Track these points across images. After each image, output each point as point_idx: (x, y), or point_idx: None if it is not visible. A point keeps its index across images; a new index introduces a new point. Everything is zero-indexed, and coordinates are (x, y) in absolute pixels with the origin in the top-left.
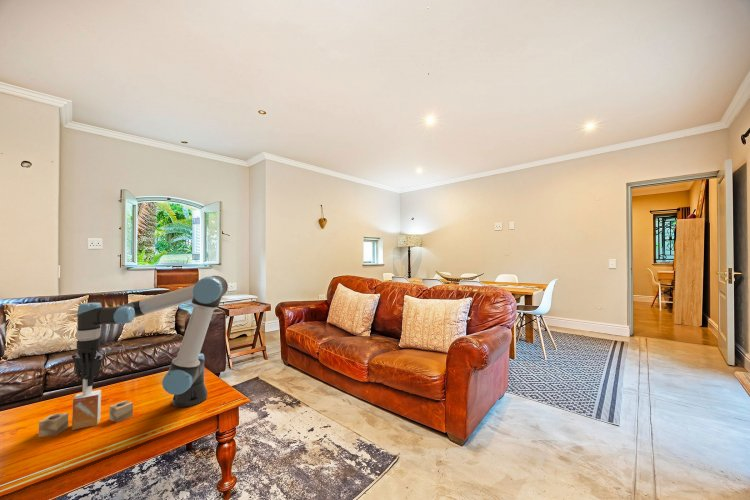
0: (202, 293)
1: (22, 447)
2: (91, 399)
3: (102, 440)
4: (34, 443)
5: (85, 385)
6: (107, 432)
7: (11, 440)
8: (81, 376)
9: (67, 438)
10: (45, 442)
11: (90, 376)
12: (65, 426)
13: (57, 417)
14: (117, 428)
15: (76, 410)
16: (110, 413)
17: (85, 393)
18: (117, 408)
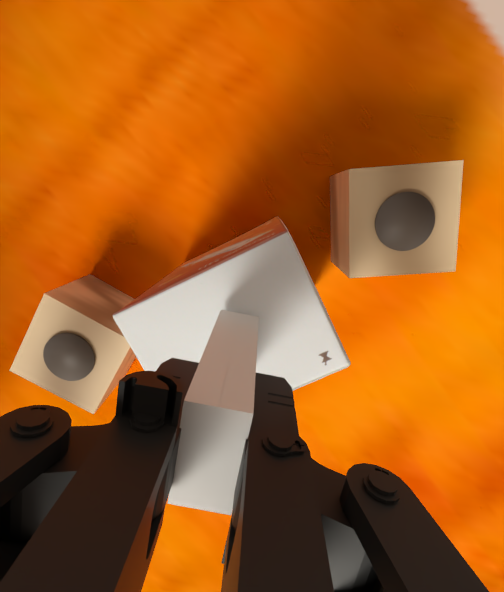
0: None
1: (421, 56)
2: (165, 285)
3: (15, 77)
4: (385, 94)
5: (211, 352)
6: (58, 168)
7: None
8: (296, 468)
9: (236, 128)
10: (330, 98)
11: (69, 432)
12: (333, 243)
13: (376, 214)
14: (36, 207)
15: (261, 232)
16: None
17: (221, 314)
18: (49, 300)
